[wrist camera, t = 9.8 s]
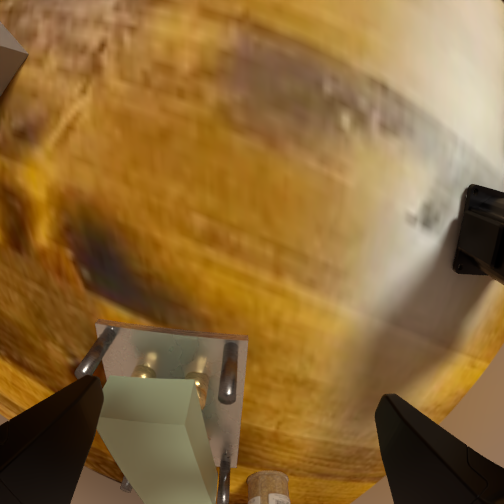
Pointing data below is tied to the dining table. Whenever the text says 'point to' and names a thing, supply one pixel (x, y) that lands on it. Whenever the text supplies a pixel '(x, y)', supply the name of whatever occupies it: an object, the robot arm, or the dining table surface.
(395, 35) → the dining table surface
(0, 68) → the icon cube
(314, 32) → the dining table surface
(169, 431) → the board
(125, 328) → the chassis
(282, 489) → the sprinkles bottle
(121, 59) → the dining table surface
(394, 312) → the dining table surface
